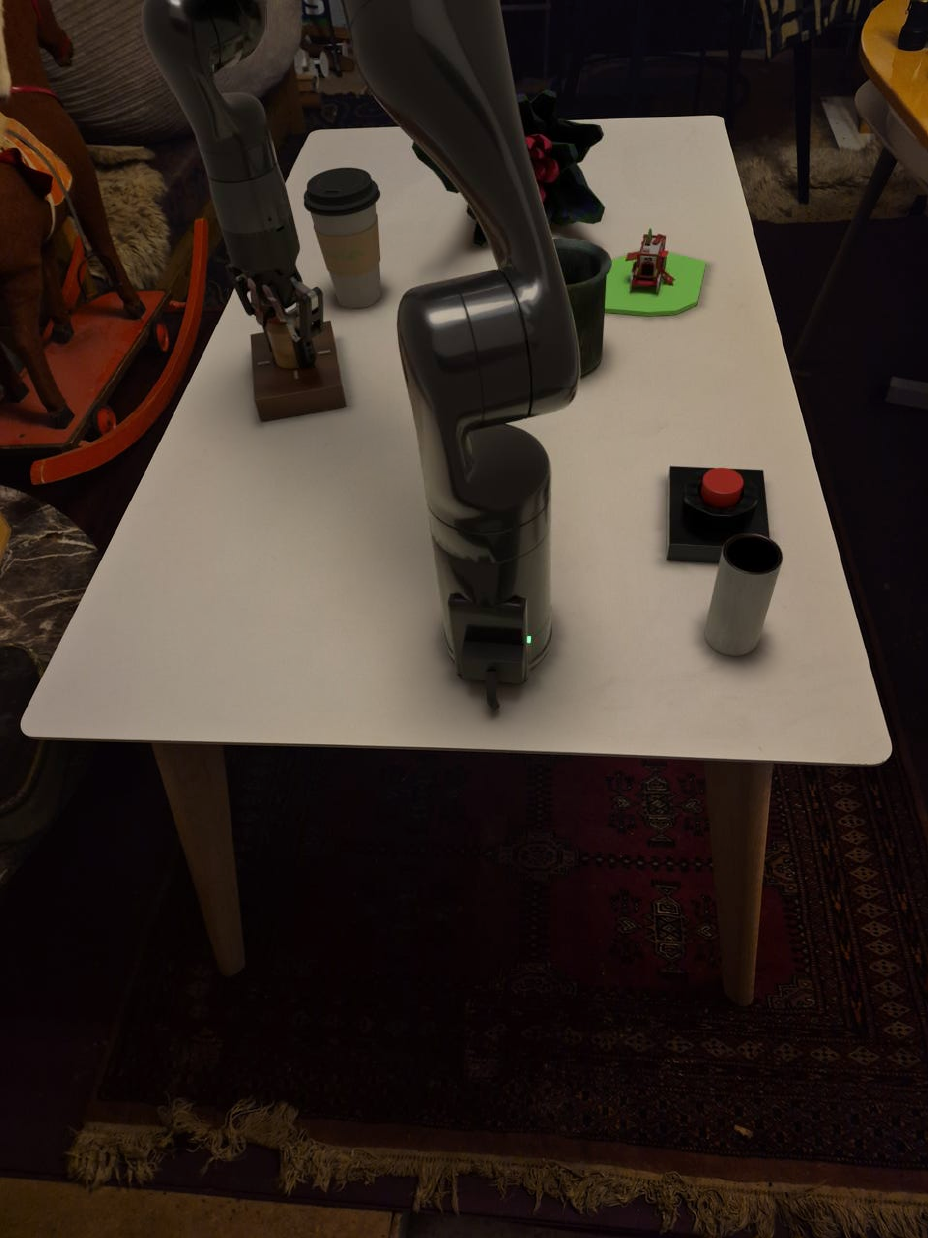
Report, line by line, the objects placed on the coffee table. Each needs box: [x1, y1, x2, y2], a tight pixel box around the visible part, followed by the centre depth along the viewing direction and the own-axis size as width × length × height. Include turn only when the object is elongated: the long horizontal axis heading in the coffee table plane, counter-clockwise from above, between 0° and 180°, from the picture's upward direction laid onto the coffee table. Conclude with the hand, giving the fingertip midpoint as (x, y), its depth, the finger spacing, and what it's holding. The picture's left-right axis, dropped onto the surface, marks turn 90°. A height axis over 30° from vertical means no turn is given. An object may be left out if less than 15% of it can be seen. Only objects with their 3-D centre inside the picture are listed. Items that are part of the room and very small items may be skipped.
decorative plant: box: [411, 88, 606, 248], centre depth 115 cm, size 21×26×30 cm
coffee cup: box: [303, 167, 382, 309], centre depth 109 cm, size 9×9×15 cm
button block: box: [666, 465, 771, 564], centre depth 81 cm, size 11×9×4 cm
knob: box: [266, 316, 300, 369], centre depth 99 cm, size 4×4×5 cm
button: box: [701, 467, 743, 507], centre depth 79 cm, size 4×4×2 cm
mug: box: [553, 237, 612, 377], centre depth 98 cm, size 11×15×12 cm
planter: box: [704, 533, 784, 657], centre depth 70 cm, size 4×4×10 cm
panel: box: [249, 320, 348, 423], centre depth 102 cm, size 14×10×3 cm
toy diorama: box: [605, 227, 707, 317], centre depth 109 cm, size 15×15×6 cm
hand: (293, 356), depth 101 cm, fingers closed on knob, 4 cm apart
